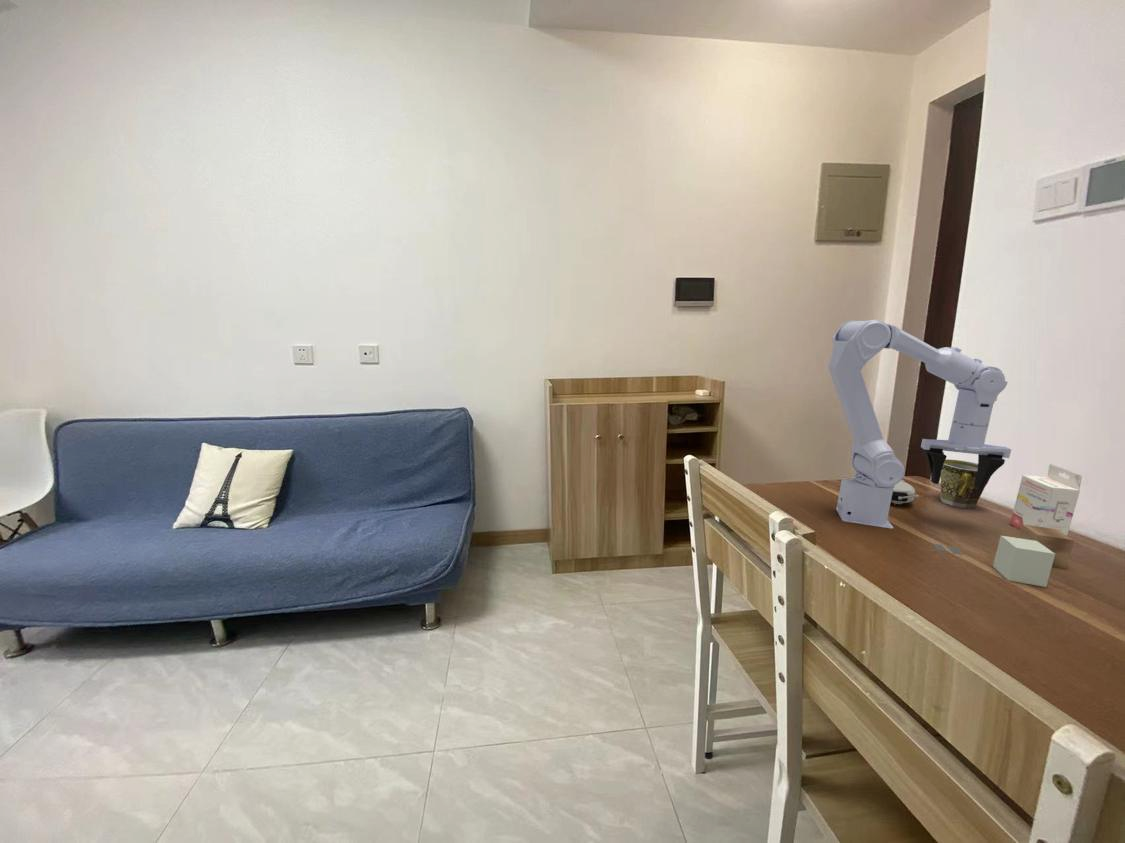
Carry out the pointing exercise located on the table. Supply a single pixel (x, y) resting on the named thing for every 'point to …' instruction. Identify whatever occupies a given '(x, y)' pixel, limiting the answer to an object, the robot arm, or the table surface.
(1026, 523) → the ink cartridge box
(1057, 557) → the walnut block
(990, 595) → the table surface
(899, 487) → the robot toy
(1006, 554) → the sage block
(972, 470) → the ceramic cup
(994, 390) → the robot arm
